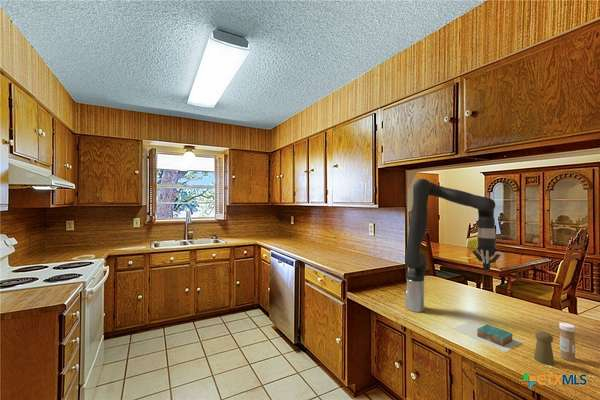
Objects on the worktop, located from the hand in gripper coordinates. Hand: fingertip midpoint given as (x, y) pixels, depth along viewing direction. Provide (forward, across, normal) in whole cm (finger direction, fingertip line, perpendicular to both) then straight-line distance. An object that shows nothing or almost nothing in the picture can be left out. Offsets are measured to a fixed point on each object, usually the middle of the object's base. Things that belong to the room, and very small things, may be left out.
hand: (486, 270), depth 138 cm
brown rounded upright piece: (+27, +28, -16) cm, 42 cm away
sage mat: (+27, +6, -15) cm, 32 cm away
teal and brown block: (+25, +5, -15) cm, 29 cm away
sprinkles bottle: (+27, +32, -6) cm, 42 cm away
